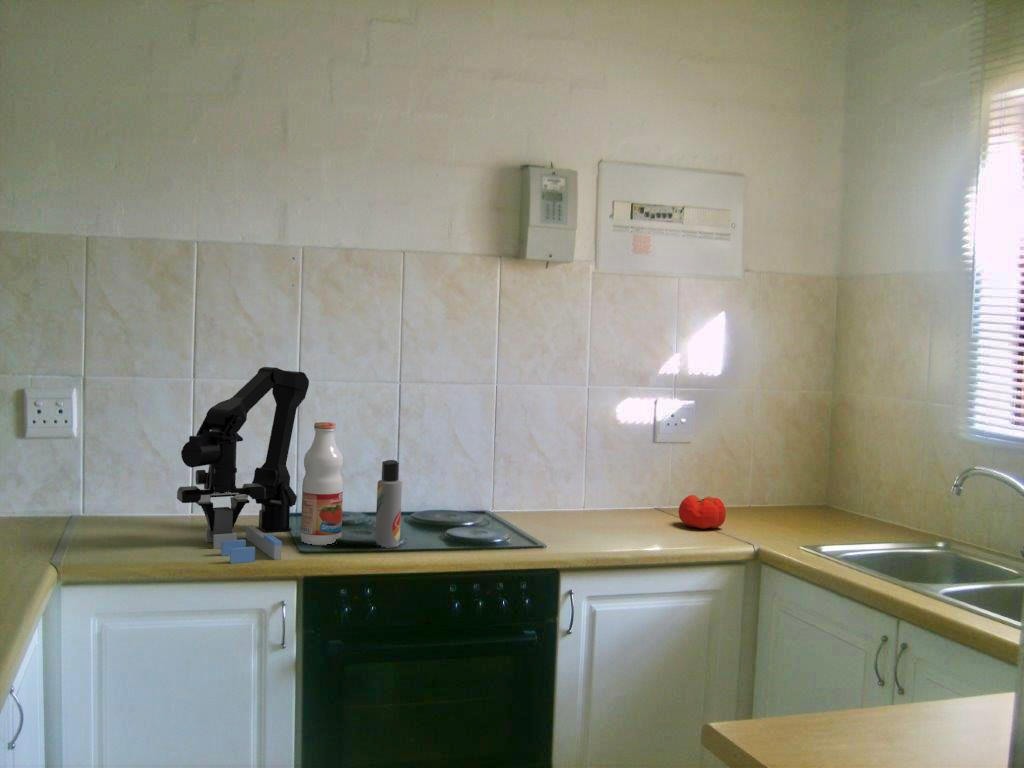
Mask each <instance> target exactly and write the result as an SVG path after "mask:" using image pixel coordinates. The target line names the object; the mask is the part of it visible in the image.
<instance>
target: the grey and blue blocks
mask: <svg viewBox="0 0 1024 768" xmlns="http://www.w3.org/2000/svg"><path fill="white" fill-rule="evenodd" d="M204 538H205V542H206V543H210V542H211V543H212V545H213V546H212V548H213V549H214V550H215V549H218V550H219V549H220V550H221V552H220V554H221V556H222V557H225V556H227V557H228V556H229V563H230V564H241V563H242V564H243V563H254V562H255V560H256V559H255V558H256V548H258V549H259V550H260V551H263V553H265V554H266V555H268V556H269V557H270V558H271V559H273V560H281V559H282V546H283V541H282V540H280V539H278V538H277V537H276V536H274V535H273V534H271V533H268V534H267V533H264V531H261V529H260V528H257V527H256V526H254V525H253V524H250V525H245V539H238V533H237V532H232V533H229V534H215V535H213V538H212V537H210V529H209V527H206V528H205V537H204ZM247 541H249V542H250V543H251V544H253V545H254V546H246V543H247Z"/></svg>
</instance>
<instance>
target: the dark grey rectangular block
mask: <svg viewBox="0 0 1024 768" xmlns="http://www.w3.org/2000/svg"><path fill="white" fill-rule="evenodd" d="M213 523H214V525H213V531H210V537H212V538H213V535H215V534H229V533H233V529H232V524H233V510H232V509H231V507H230V506H220V507H213Z"/></svg>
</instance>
